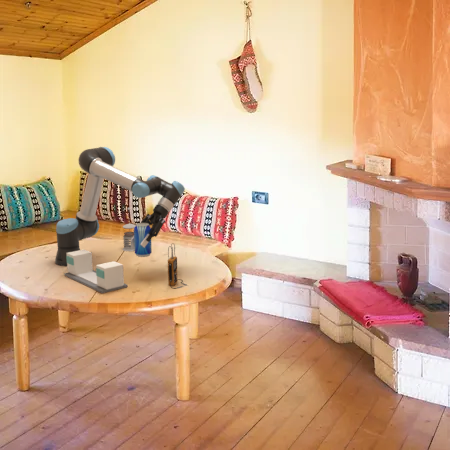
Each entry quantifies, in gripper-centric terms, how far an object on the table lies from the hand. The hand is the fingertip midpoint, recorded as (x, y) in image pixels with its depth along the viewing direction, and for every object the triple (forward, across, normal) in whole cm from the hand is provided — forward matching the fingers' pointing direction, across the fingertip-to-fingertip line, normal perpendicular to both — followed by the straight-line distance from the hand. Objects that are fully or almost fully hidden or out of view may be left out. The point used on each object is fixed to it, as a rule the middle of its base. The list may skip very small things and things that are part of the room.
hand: (137, 244), depth 323 cm
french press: (-7, +51, -34) cm, 62 cm away
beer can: (+2, 0, -7) cm, 7 cm away
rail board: (+26, +11, 0) cm, 28 cm away
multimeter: (+5, -21, -20) cm, 30 cm away
